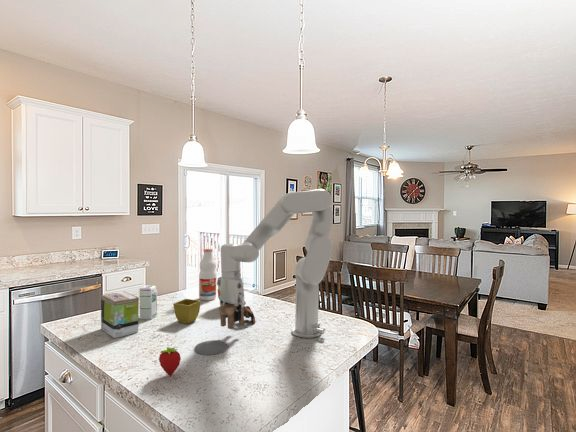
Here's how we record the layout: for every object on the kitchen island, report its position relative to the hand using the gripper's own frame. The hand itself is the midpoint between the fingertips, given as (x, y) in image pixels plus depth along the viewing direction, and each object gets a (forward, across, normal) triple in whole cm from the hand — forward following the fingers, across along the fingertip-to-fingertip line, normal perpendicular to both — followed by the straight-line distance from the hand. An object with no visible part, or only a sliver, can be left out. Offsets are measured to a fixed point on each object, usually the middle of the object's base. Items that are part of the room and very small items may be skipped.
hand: (232, 318), depth 135 cm
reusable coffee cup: (+7, +31, -24) cm, 40 cm away
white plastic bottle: (+7, +52, -26) cm, 58 cm away
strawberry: (+7, -10, +34) cm, 36 cm away
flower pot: (+6, +28, +3) cm, 29 cm away
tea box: (+5, +39, +28) cm, 48 cm away
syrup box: (+6, +46, +12) cm, 48 cm away
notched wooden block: (+3, 0, 0) cm, 3 cm away
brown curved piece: (+8, +8, -14) cm, 18 cm away
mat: (+7, -3, +13) cm, 15 cm away
